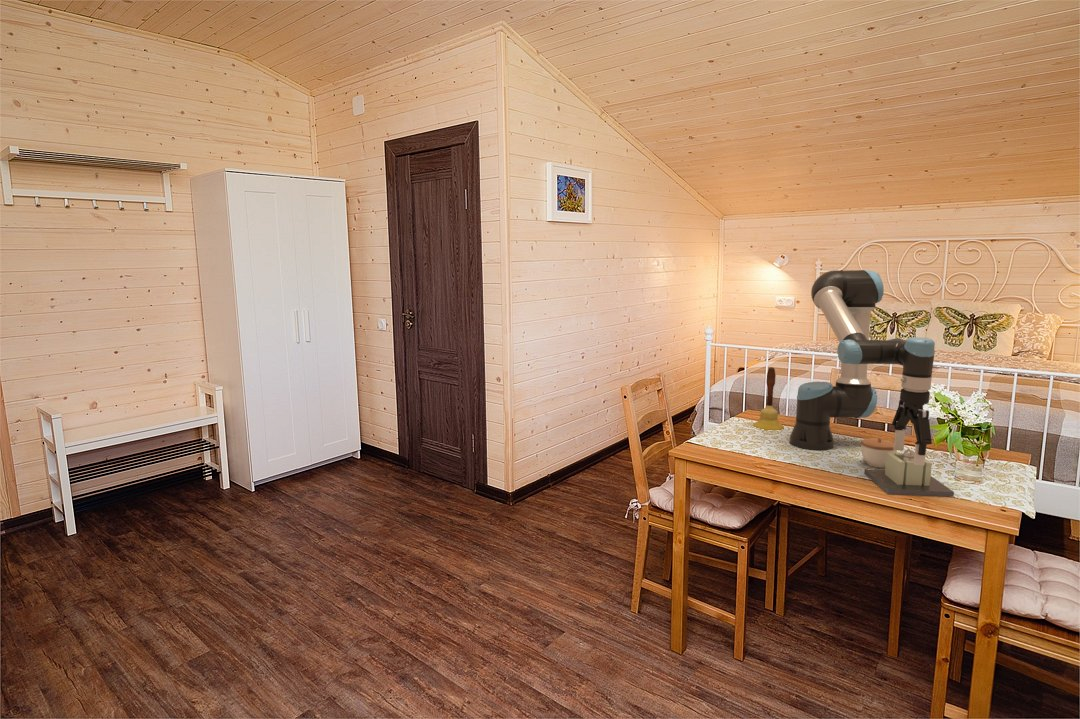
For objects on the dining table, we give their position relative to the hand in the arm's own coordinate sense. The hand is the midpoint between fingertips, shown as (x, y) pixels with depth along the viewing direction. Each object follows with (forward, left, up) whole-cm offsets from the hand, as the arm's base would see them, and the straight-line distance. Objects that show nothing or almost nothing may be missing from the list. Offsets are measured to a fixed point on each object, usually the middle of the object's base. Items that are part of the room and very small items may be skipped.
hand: (908, 457), depth 188 cm
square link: (0, 0, -7) cm, 7 cm away
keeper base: (0, 0, -9) cm, 9 cm away
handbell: (-65, -26, -9) cm, 70 cm away
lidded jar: (-19, -1, -9) cm, 21 cm away
